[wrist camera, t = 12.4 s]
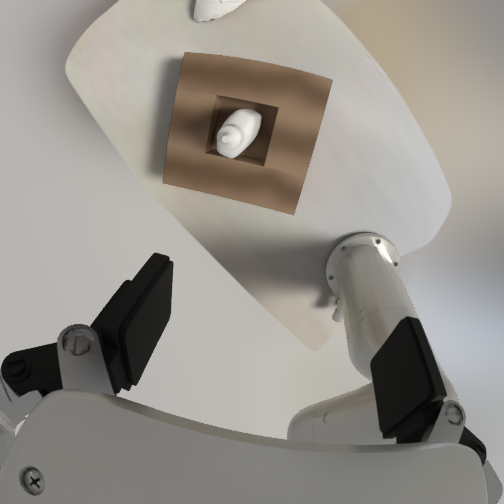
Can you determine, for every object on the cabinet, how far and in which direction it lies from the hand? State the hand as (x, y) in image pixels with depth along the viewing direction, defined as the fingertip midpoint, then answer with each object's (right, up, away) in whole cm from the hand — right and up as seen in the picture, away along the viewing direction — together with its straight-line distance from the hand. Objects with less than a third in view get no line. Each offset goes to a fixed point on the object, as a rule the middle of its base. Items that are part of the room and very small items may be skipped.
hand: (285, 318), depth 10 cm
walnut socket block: (-2, +19, +25) cm, 31 cm away
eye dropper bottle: (-2, +19, +24) cm, 30 cm away
